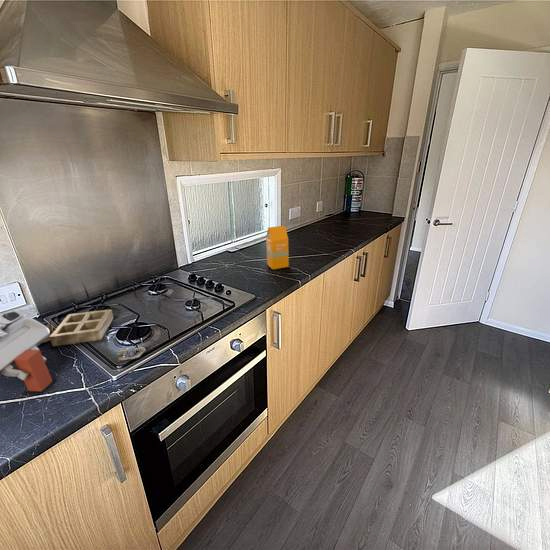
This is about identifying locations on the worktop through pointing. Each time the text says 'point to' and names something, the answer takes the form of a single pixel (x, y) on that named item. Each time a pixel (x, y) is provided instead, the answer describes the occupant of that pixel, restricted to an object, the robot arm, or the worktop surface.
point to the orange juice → (277, 247)
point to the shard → (50, 332)
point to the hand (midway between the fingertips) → (35, 369)
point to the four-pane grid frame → (82, 327)
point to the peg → (34, 370)
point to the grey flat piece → (130, 353)
